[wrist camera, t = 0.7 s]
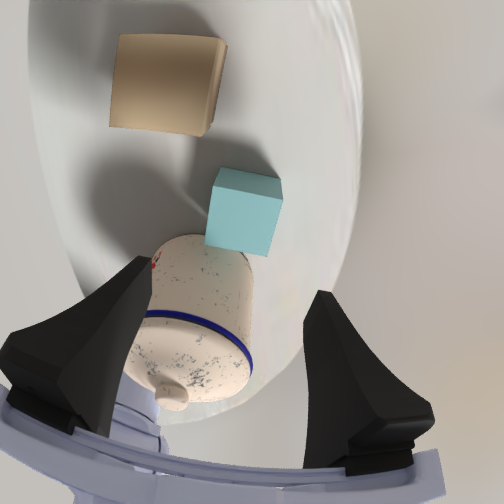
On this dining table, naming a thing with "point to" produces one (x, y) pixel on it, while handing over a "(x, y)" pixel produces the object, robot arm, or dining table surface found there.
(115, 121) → the oak slab upper
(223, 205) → the teal block
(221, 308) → the ceramic jar
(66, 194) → the dining table surface
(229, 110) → the dining table surface
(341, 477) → the robot arm
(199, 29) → the dining table surface
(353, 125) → the dining table surface
